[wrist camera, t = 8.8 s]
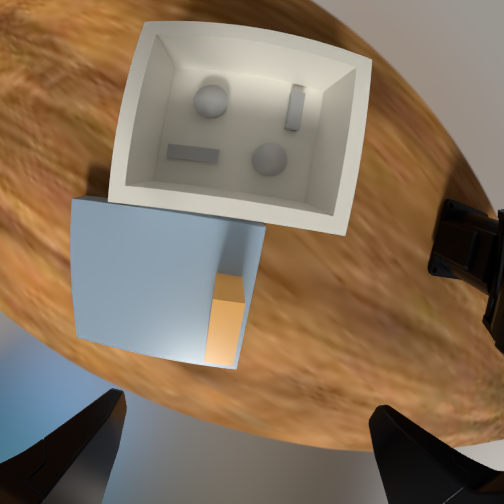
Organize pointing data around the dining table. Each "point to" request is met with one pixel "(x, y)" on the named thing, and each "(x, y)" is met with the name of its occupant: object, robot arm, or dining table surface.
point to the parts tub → (241, 125)
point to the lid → (163, 279)
